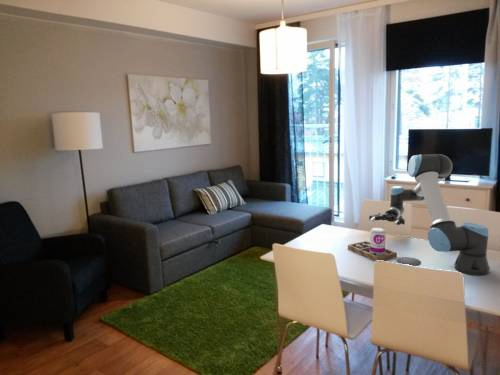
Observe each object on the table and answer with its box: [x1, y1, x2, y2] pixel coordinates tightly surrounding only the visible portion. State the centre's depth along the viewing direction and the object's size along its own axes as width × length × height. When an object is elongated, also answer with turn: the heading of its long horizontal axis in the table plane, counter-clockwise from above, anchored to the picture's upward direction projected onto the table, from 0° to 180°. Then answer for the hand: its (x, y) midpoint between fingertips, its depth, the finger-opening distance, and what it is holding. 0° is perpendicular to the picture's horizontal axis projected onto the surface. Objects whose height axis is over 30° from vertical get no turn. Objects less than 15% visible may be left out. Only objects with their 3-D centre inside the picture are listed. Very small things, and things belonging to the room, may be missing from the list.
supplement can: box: [369, 227, 387, 256], centre depth 218 cm, size 8×8×15 cm
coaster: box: [396, 256, 422, 267], centre depth 208 cm, size 12×12×1 cm
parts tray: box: [347, 240, 398, 262], centre depth 223 cm, size 24×14×3 cm, turn 26°
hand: (382, 223), depth 224 cm, fingers open, 13 cm apart
